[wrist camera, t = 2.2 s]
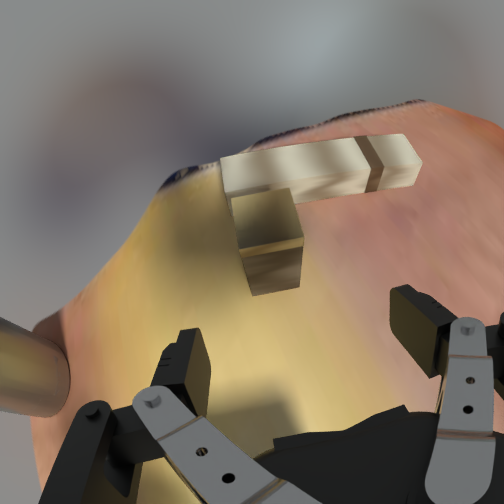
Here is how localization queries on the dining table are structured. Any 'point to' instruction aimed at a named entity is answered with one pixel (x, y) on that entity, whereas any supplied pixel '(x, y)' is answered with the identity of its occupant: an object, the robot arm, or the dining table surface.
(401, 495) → the robot arm
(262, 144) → the dining table surface
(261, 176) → the board
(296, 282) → the brown rectangular block
